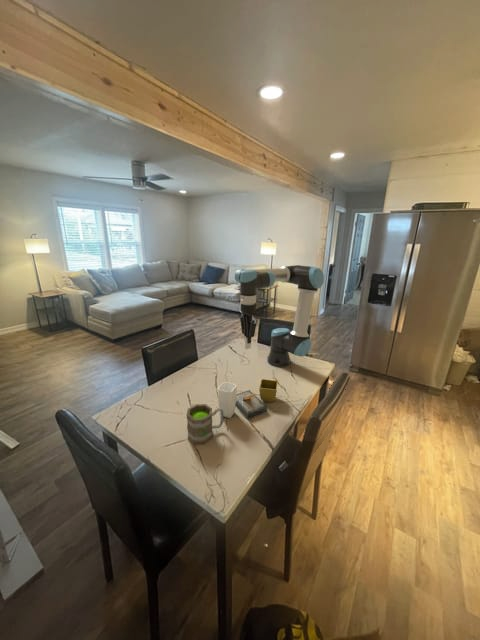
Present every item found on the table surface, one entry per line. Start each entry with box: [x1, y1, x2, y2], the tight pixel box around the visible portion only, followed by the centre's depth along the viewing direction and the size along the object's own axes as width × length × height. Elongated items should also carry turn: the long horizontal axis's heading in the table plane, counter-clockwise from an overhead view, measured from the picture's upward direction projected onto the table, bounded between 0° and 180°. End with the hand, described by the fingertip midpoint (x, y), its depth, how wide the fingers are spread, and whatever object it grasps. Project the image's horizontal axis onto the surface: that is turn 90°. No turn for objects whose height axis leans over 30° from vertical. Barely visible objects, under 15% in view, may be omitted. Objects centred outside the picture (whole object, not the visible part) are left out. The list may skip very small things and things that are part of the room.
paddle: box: [242, 393, 257, 400], centre depth 128 cm, size 4×1×7 cm
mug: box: [186, 403, 224, 446], centre depth 109 cm, size 16×11×12 cm
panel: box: [235, 389, 268, 420], centre depth 129 cm, size 11×16×3 cm
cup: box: [217, 381, 238, 419], centre depth 121 cm, size 7×7×15 cm
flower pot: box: [258, 378, 279, 403], centre depth 134 cm, size 9×9×9 cm
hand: (247, 348), depth 132 cm, fingers closed
